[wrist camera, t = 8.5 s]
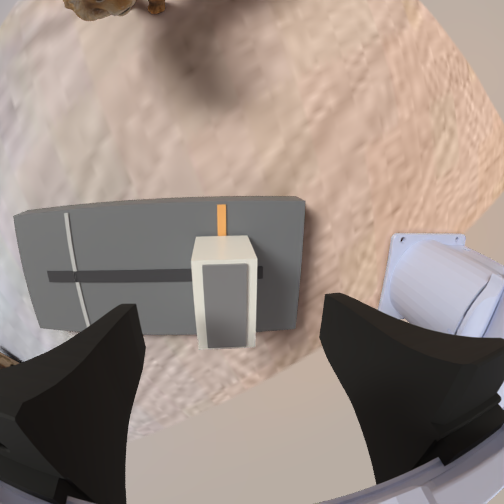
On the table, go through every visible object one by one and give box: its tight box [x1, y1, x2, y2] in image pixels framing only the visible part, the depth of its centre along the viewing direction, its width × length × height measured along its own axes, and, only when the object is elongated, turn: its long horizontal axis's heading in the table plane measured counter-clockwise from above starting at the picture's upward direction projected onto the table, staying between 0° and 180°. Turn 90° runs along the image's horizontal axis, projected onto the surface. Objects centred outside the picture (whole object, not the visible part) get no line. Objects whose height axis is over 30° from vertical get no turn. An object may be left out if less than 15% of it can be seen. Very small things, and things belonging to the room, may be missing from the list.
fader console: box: [13, 196, 305, 335], centre depth 18 cm, size 20×9×2 cm, turn 90°
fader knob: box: [191, 235, 257, 350], centre depth 15 cm, size 3×5×4 cm, turn 0°
